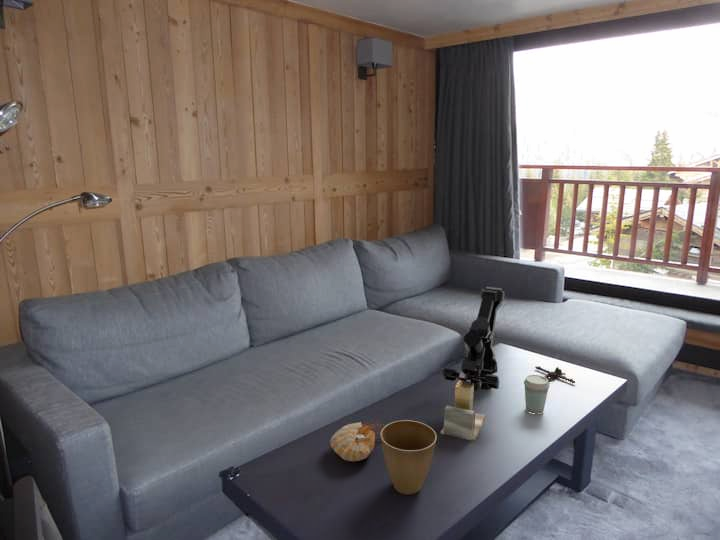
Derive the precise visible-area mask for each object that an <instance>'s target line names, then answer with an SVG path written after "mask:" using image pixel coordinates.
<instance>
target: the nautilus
mask: <svg viewBox="0 0 720 540" xmlns="http://www.w3.org/2000/svg"><path fill="white" fill-rule="evenodd" d="M373 421H374V420H371V421H370V422H367V423H364V424H362V422H361V421H360V422H353V423H348V424H346V425H344V426H342V427H341V428H340V429H338V430H337V431H336V432H335V433H334V434H332V436H331V439H330V441H329V443H330V447H331V448H332V450H333V451H334V452H335V453H336V454H337V455H338V456H339V457H340V458H341V459H343V460H344V461H348V462H359V461H362V460H364V459H367V458H368V457H369V456H370V453H372V452H373V450H374V448H375V443H382V441H380V440H379V441H377V440H376V439H377V438H379V436H377V435H381V431H382V429H383V428H384V427H383V426H385V424H382V423H381V424H380V423H379V422H380V420H378V421H377V422H375V423H372V422H373ZM370 423H372V424H370ZM378 423H379V424H378ZM367 424H369V425H367ZM376 428H377V429H379V431H378V432H377V429H376ZM380 428H381V429H380ZM376 434H377V435H376Z"/></svg>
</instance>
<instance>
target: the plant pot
mask: <svg viewBox="0 0 720 540" xmlns="http://www.w3.org/2000/svg"><path fill="white" fill-rule="evenodd" d="M381 430H382V431H380V432H381V434H380V440H381V446H382V452H383V457H384V461H385V465H386V469H387V471H388V475H389V477H390V480H391V482H392V486H393V488H394V489H395V491H397V492H398V493H400V494H403V495H413V494H416V493H418V492H419V491H420V490H421V488H422V486H423V484H424V482H425V480H426V478H427V475H428V473H429V469H430V466H431V463H432V459H433V456H434V452H435V448H436V443H437V442H436V441H437V433H436V431H435V430H434V429H433V428H432V427H430V426H429V425H427V424H425V423H424V422H421V421H415V420H410V419H402V420H397V421H392V422H390V423H388V424H385V425H384V427H383V428H381Z"/></svg>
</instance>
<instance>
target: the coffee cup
mask: <svg viewBox="0 0 720 540" xmlns="http://www.w3.org/2000/svg"><path fill="white" fill-rule="evenodd" d="M523 384H524V396H525V397H524V399H525V410H527V411H528V412H531V413H535V414H538V413H542V412H543V413H544V410H545V406H546V401H547V397H548V391H549V389H550V387H551V386H550V381H549V382H548V378H545V377H544V376H542V375H540V374H530V375H527V376H526V377H525V379H524V380H523ZM527 411H526V412H527ZM528 412H527V413H528ZM543 413H542V414H543Z"/></svg>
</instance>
